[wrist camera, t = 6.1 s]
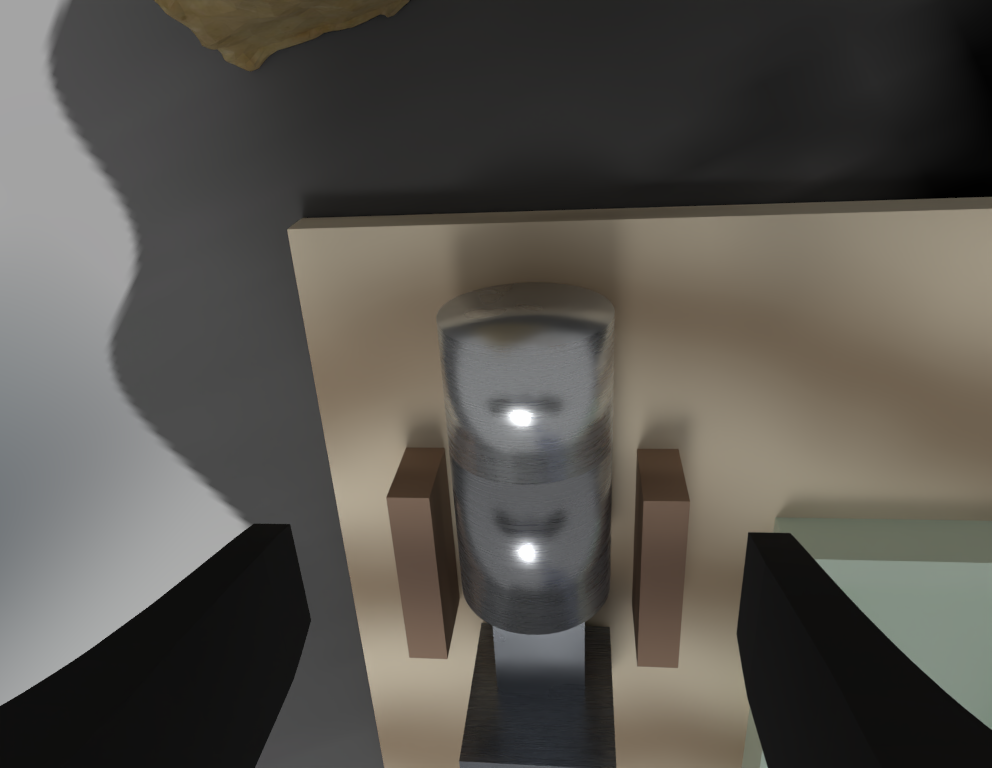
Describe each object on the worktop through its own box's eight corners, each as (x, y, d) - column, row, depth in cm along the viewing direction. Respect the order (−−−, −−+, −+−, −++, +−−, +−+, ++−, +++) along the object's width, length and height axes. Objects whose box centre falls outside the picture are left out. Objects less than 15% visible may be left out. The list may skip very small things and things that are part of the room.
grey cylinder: (611, 537, 20) (608, 640, 16) (476, 530, 20) (448, 628, 17) (615, 282, 16) (613, 347, 13) (456, 282, 17) (416, 345, 14)
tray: (988, 827, 23) (1015, 880, 22) (735, 812, 24) (745, 862, 23) (1102, 522, 18) (1147, 566, 17) (775, 517, 19) (791, 558, 17)
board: (994, 832, 25) (1009, 863, 24) (400, 796, 27) (394, 823, 26) (1238, 189, 15) (1277, 200, 15) (301, 218, 18) (287, 228, 17)
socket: (668, 605, 21) (677, 667, 19) (424, 598, 21) (409, 657, 19) (678, 448, 18) (690, 501, 16) (406, 447, 19) (385, 497, 17)
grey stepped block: (609, 678, 22) (615, 825, 18) (485, 673, 22) (465, 816, 18) (611, 540, 20) (619, 673, 16) (474, 537, 20) (448, 666, 16)
